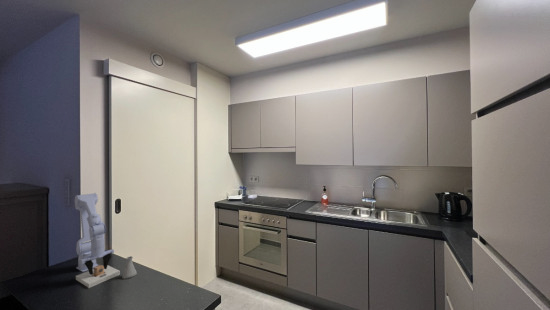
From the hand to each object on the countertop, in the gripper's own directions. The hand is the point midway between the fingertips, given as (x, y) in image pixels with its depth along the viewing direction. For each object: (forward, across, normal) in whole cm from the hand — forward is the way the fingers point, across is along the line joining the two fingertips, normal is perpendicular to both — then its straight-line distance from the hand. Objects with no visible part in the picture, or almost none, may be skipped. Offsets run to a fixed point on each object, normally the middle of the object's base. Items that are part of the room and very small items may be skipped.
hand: (98, 271), depth 119 cm
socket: (+3, 0, 0) cm, 3 cm away
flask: (+3, +9, -14) cm, 17 cm away
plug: (+3, 0, -1) cm, 3 cm away
